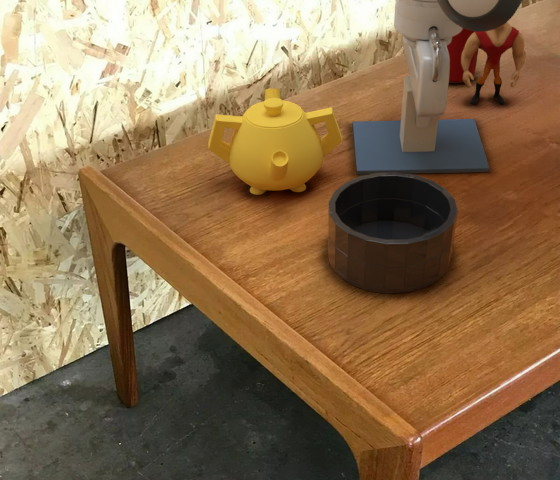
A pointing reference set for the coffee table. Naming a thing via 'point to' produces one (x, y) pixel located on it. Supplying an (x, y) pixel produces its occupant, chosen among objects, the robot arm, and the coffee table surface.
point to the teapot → (275, 143)
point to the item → (409, 133)
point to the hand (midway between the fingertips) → (419, 115)
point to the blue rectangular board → (445, 159)
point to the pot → (391, 232)
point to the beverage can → (455, 56)
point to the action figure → (493, 56)
